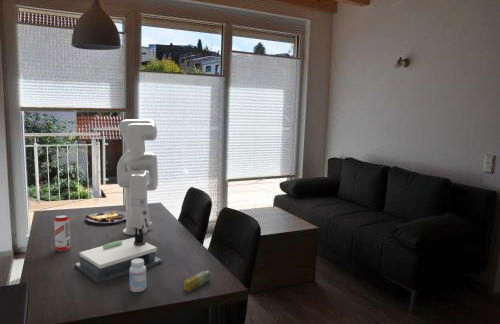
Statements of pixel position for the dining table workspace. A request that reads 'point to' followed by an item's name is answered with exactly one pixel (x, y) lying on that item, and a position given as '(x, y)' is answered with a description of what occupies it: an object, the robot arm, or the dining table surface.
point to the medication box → (196, 280)
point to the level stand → (114, 267)
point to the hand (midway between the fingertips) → (139, 242)
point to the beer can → (62, 233)
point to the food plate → (106, 217)
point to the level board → (117, 252)
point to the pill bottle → (137, 275)
